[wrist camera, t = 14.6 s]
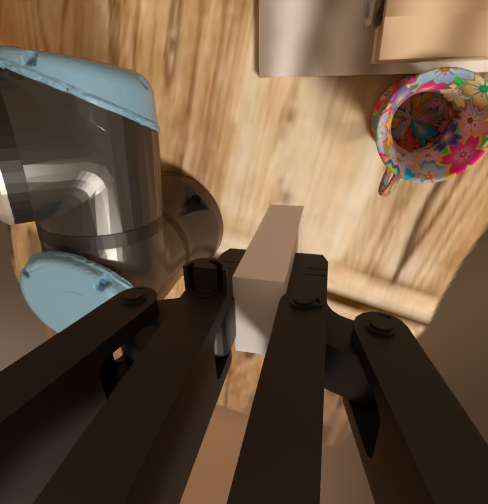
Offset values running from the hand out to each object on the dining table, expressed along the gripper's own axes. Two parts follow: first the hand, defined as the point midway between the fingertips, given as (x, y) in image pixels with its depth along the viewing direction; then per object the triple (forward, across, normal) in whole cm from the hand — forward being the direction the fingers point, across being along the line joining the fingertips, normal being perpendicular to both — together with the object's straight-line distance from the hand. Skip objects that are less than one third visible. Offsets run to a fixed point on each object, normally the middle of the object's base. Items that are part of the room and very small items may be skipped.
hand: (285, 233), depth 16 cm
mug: (+30, +10, +1) cm, 31 cm away
